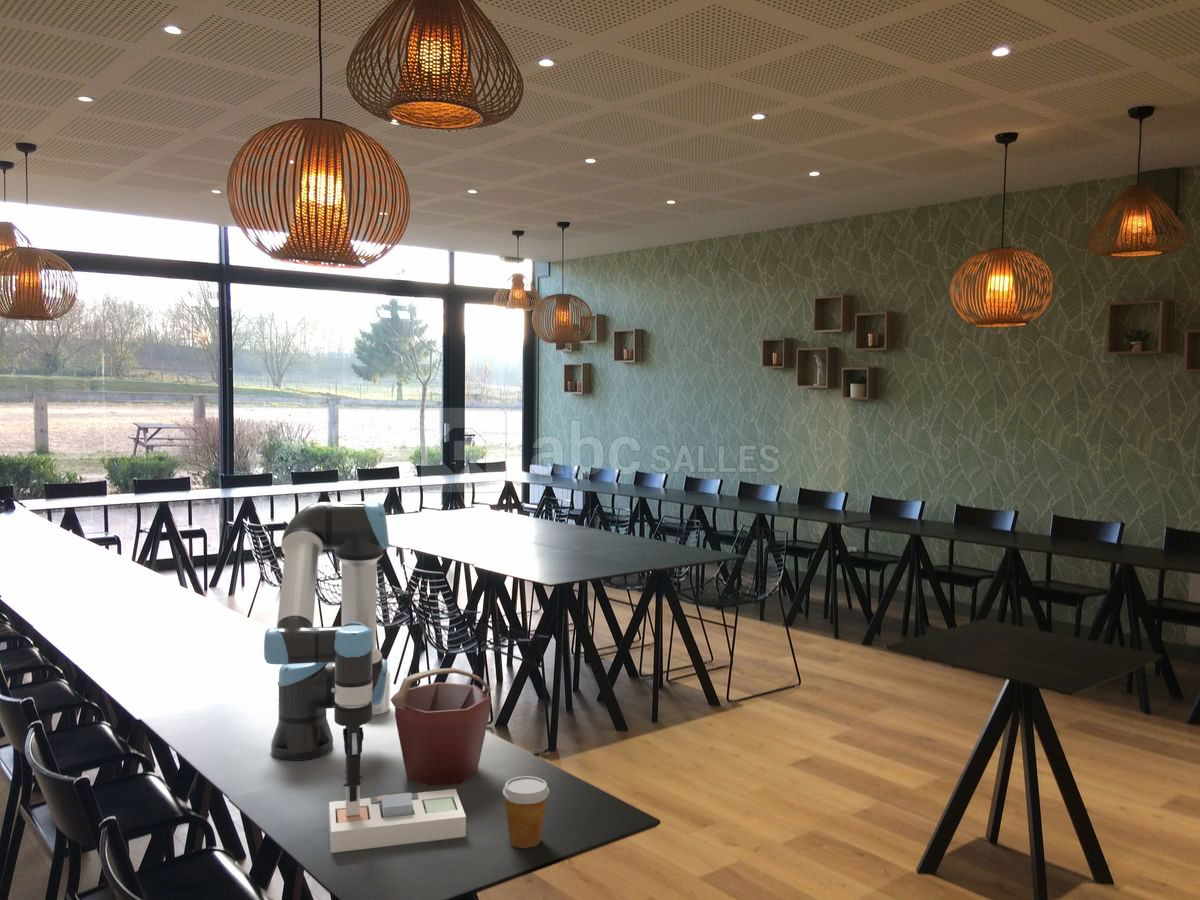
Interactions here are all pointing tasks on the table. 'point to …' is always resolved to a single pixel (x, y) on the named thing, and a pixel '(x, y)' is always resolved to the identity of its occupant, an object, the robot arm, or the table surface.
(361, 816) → the terracotta key
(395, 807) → the slate key
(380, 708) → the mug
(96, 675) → the table surface
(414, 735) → the bucket
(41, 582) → the table surface
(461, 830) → the keypad
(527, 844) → the disposable coffee cup
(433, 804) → the sage key
